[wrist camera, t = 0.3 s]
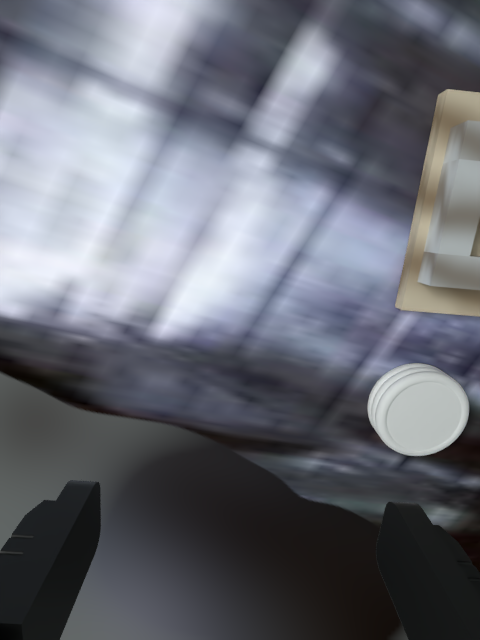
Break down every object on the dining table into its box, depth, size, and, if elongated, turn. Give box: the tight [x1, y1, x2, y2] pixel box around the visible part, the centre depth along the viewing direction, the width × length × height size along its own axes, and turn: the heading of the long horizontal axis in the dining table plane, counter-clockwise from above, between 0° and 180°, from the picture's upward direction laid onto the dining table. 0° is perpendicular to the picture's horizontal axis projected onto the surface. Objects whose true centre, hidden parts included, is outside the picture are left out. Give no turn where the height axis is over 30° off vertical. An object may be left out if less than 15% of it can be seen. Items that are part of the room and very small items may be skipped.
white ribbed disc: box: [368, 363, 469, 456], centre depth 40 cm, size 10×10×4 cm
